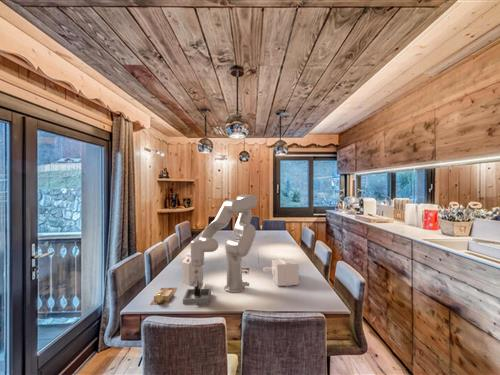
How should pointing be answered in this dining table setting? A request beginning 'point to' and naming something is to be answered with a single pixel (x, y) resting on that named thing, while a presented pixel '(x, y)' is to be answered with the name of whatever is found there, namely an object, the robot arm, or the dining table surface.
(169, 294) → the thick square wood block
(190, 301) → the tray
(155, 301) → the board
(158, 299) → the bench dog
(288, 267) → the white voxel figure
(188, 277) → the milk carton
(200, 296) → the dowel
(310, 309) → the dining table surface
